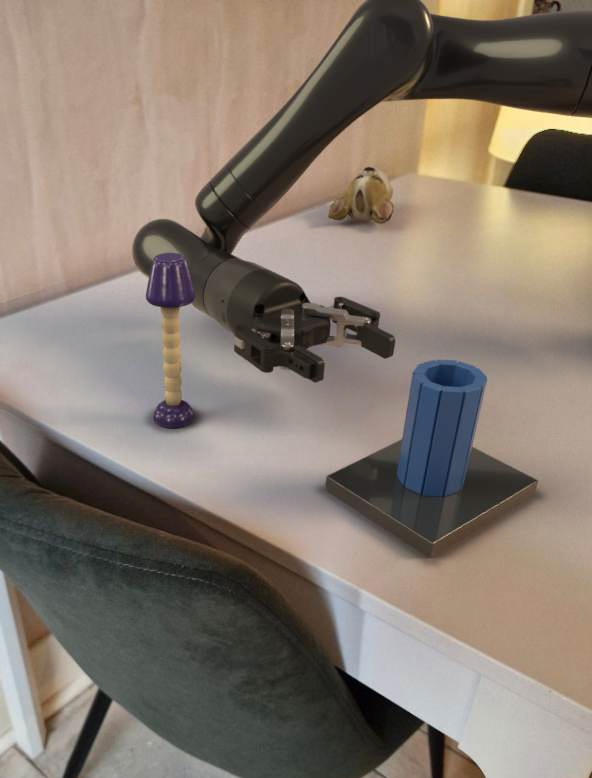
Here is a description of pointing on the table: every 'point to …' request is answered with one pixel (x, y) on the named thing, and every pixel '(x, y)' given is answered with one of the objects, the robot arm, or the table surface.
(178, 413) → the toy lamp
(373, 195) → the ceramic sculpture
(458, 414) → the sleeve
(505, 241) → the table surface
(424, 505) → the yellow peg on plate
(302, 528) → the table surface
